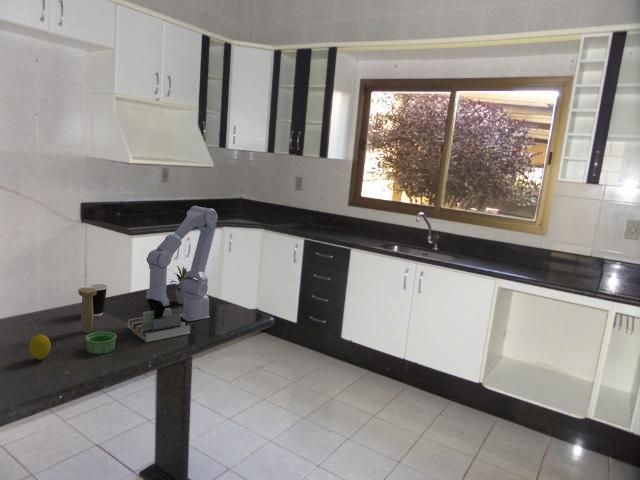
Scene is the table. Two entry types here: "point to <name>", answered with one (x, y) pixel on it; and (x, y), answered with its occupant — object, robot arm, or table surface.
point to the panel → (150, 314)
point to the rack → (159, 327)
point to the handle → (87, 308)
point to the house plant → (178, 291)
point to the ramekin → (100, 342)
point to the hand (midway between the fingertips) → (156, 319)
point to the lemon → (39, 346)
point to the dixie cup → (98, 298)
